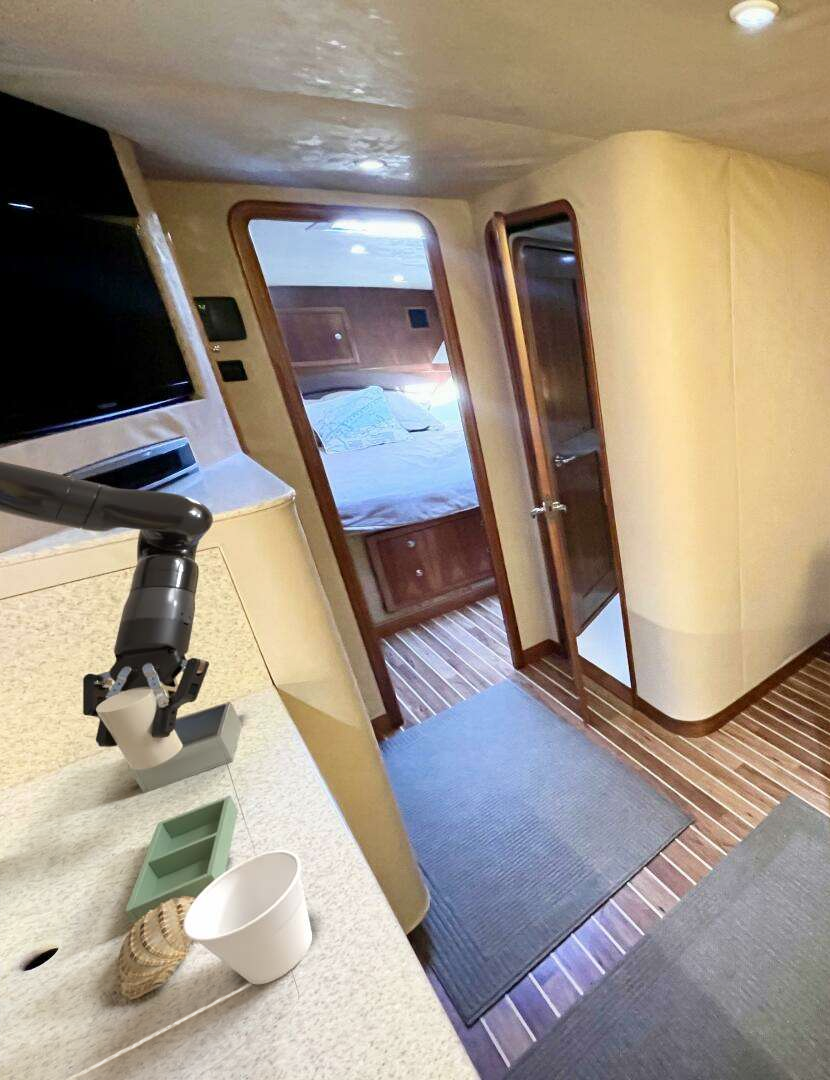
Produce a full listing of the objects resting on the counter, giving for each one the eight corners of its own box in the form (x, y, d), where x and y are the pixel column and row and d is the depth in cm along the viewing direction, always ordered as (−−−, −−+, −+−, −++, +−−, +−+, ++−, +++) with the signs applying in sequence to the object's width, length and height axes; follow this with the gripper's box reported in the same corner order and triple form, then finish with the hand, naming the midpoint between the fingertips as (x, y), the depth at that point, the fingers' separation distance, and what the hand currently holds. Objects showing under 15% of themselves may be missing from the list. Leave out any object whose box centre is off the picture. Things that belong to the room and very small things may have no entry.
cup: (229, 949, 62) (189, 885, 58) (329, 895, 68) (300, 834, 64) (220, 1030, 55) (174, 963, 51) (334, 962, 60) (301, 898, 56)
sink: (143, 793, 85) (127, 766, 83) (161, 751, 94) (147, 727, 92) (233, 761, 91) (220, 735, 89) (242, 725, 100) (230, 701, 98)
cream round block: (125, 776, 73) (89, 718, 69) (137, 752, 77) (103, 696, 73) (178, 758, 75) (146, 701, 72) (186, 736, 80) (156, 681, 76)
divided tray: (137, 931, 65) (124, 912, 64) (168, 840, 77) (157, 822, 76) (222, 892, 69) (211, 874, 68) (239, 812, 81) (230, 795, 80)
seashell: (227, 960, 64) (198, 891, 68) (213, 945, 60) (183, 873, 64) (137, 1021, 58) (111, 943, 62) (115, 1009, 55) (89, 926, 59)
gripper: (74, 624, 74) (42, 752, 68) (195, 608, 77) (174, 728, 71) (122, 637, 81) (96, 754, 75) (230, 621, 84) (215, 732, 78)
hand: (134, 741), depth 73 cm, fingers closed on cream round block, 5 cm apart
